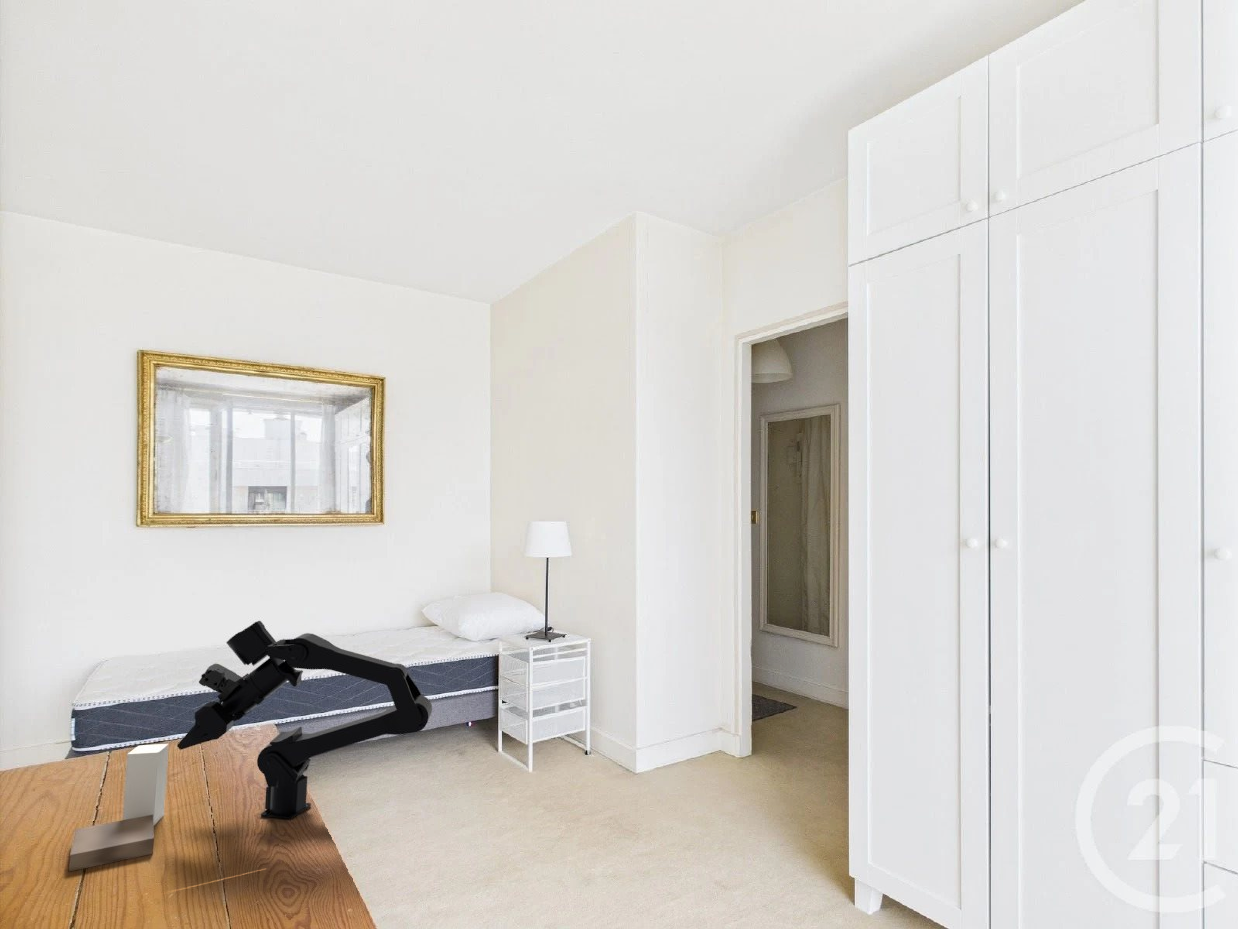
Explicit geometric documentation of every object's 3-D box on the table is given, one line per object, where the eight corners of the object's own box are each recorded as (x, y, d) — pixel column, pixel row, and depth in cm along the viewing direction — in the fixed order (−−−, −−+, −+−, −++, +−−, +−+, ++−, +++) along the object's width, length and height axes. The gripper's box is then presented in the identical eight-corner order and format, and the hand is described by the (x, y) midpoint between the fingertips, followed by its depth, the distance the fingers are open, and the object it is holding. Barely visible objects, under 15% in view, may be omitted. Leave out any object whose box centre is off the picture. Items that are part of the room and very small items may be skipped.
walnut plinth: (151, 829, 124) (152, 814, 124) (152, 853, 115) (154, 838, 115) (74, 844, 118) (75, 829, 118) (68, 871, 109) (70, 855, 109)
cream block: (163, 815, 130) (168, 743, 131) (153, 826, 125) (158, 752, 126) (133, 817, 129) (138, 745, 130) (121, 829, 124) (127, 754, 125)
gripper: (249, 643, 143) (181, 694, 139) (215, 661, 124) (137, 721, 121) (284, 684, 143) (217, 736, 140) (256, 708, 125) (179, 769, 122)
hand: (189, 739), depth 131 cm, fingers open, 9 cm apart
